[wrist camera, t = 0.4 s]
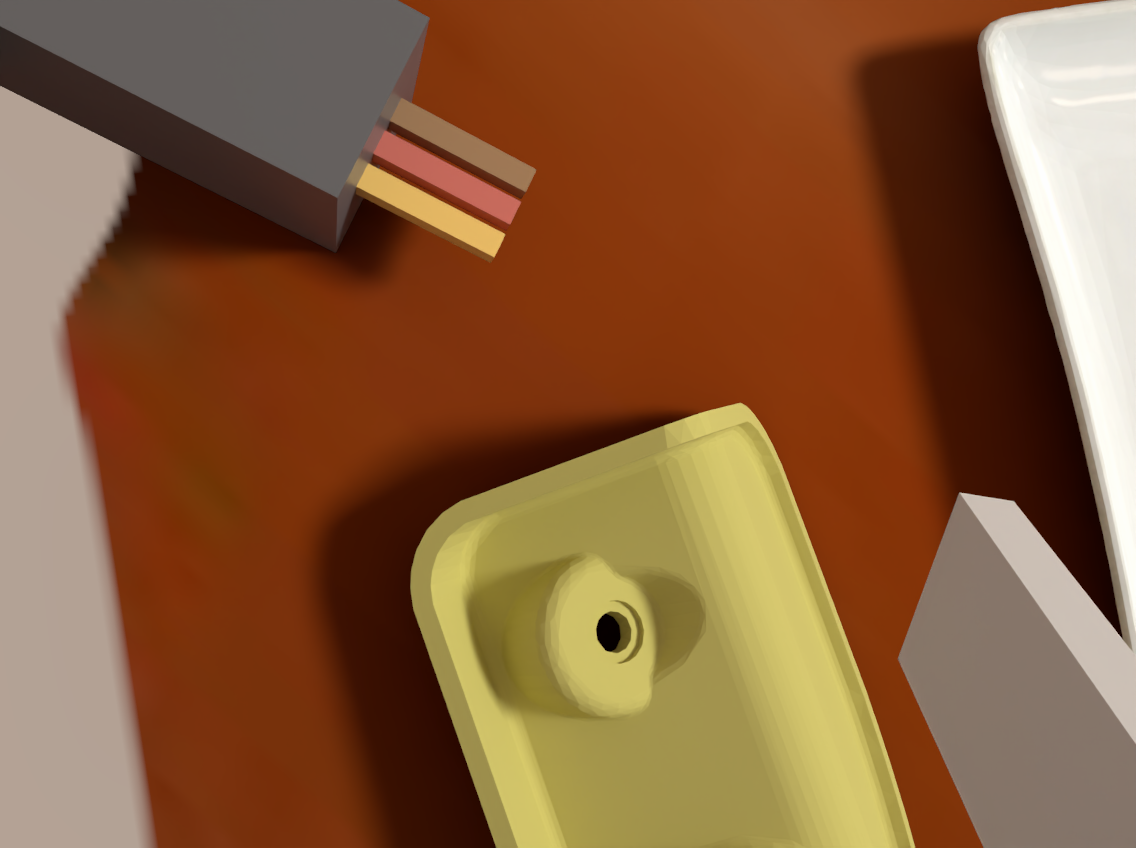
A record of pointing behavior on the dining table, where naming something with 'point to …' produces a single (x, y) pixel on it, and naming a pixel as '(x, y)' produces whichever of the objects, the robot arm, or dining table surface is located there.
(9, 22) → the plug housing
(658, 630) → the plastic component
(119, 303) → the dining table surface
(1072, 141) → the square plate
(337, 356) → the dining table surface
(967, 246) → the dining table surface
